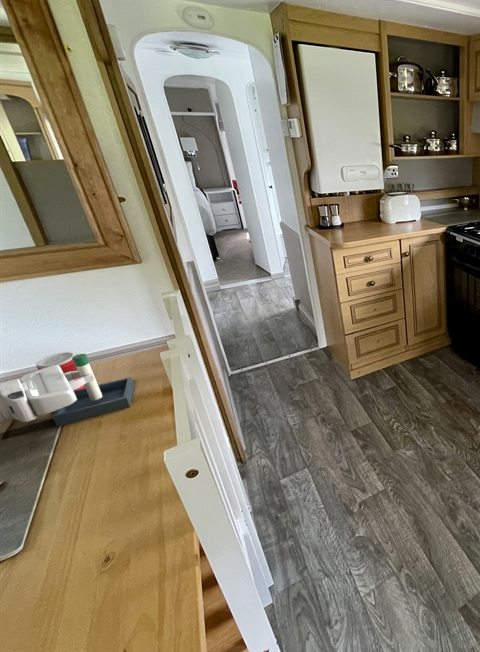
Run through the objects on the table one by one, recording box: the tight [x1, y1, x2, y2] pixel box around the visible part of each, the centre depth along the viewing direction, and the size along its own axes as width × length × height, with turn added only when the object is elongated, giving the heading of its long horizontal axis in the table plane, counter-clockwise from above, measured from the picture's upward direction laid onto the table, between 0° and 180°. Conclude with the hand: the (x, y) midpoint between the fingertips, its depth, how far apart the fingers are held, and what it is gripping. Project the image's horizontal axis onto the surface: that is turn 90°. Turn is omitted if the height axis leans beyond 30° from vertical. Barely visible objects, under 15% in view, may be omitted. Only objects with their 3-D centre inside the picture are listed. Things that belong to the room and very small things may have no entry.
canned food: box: [35, 352, 85, 391], centre depth 110 cm, size 8×8×11 cm
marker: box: [72, 353, 102, 401], centre depth 103 cm, size 3×3×14 cm
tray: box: [52, 376, 135, 427], centre depth 106 cm, size 15×13×3 cm
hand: (91, 374), depth 103 cm, fingers closed on marker, 2 cm apart
